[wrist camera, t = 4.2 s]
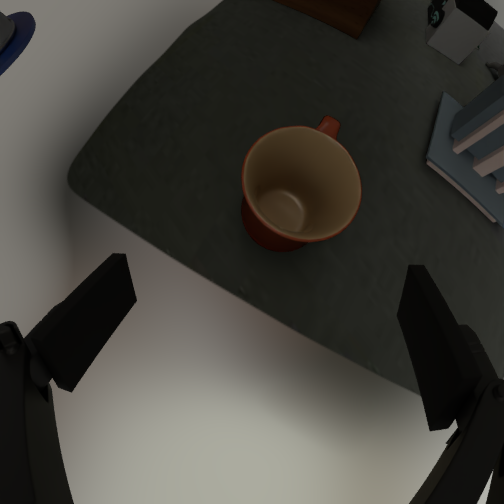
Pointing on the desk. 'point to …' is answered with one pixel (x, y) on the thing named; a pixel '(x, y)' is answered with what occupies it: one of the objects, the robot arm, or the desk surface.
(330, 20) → the plinth
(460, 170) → the desk lamp
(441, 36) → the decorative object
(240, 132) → the desk surface
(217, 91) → the desk surface
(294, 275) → the desk surface
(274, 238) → the mug
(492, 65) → the mug
